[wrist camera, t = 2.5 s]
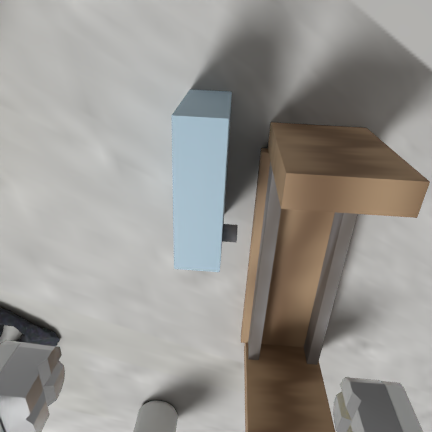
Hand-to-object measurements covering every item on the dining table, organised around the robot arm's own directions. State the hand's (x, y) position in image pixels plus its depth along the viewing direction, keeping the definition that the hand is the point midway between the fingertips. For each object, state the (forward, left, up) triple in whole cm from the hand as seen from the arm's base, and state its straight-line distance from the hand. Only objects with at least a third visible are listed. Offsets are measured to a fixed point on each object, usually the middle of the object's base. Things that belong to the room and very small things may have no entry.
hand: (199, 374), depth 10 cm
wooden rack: (-7, +10, -20) cm, 23 cm away
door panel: (+1, +1, -20) cm, 20 cm away
